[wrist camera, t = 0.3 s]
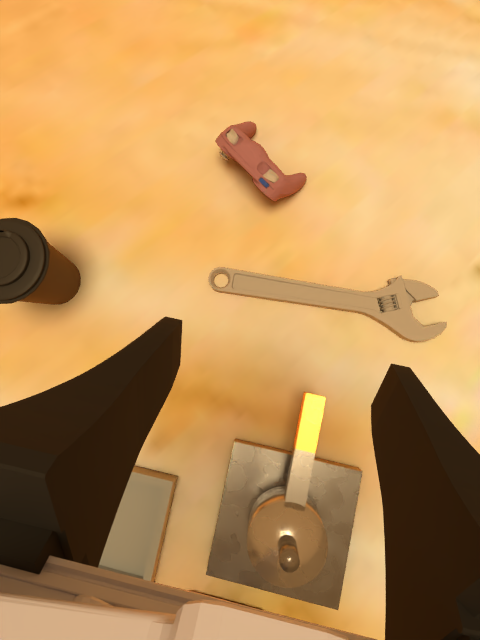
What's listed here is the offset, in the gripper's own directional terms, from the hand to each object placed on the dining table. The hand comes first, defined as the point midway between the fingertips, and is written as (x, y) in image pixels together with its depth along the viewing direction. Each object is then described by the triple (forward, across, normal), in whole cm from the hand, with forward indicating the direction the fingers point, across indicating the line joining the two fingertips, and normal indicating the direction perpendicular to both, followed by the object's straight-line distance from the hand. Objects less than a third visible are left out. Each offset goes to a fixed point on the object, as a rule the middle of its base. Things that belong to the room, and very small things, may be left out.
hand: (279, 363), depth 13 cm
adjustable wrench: (+28, -5, +12) cm, 31 cm away
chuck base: (+11, -5, +30) cm, 32 cm away
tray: (+9, +12, +33) cm, 36 cm away
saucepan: (+13, -5, +25) cm, 29 cm away
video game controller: (+36, +5, +3) cm, 36 cm away
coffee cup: (+24, +25, +16) cm, 38 cm away
